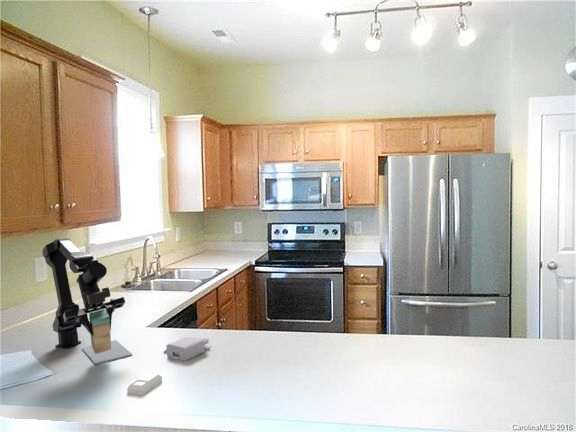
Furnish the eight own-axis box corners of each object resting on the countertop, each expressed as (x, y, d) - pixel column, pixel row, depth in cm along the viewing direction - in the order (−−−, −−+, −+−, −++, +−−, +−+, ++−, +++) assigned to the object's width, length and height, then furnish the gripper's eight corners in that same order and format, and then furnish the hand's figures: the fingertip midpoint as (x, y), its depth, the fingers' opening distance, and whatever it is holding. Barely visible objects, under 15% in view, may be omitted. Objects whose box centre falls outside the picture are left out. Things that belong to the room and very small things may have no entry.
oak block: (91, 346, 143) (89, 313, 138) (106, 341, 146) (104, 309, 141) (95, 354, 139) (93, 320, 135) (111, 349, 142) (109, 316, 138)
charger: (216, 347, 151) (186, 362, 138) (198, 343, 156) (166, 357, 143) (216, 334, 151) (185, 348, 138) (197, 330, 156) (166, 343, 143)
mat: (82, 349, 155) (82, 347, 155) (116, 341, 162) (116, 340, 162) (95, 364, 139) (95, 363, 139) (132, 355, 146) (132, 354, 146)
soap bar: (162, 382, 124) (161, 373, 124) (142, 396, 115) (141, 387, 115) (148, 380, 125) (147, 372, 125) (127, 394, 117) (126, 385, 117)
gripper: (61, 288, 132) (73, 336, 127) (122, 274, 143) (134, 318, 139) (58, 299, 140) (69, 344, 136) (116, 285, 151) (128, 326, 147)
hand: (101, 333), depth 139 cm, fingers closed on oak block, 5 cm apart
